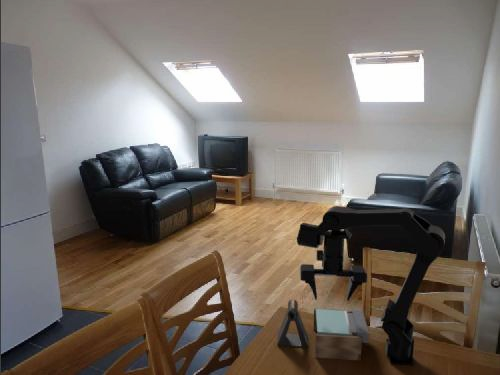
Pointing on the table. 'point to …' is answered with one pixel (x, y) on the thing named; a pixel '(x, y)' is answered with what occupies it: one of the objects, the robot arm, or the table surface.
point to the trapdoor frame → (337, 344)
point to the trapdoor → (342, 323)
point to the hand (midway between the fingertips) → (331, 299)
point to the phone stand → (283, 337)
